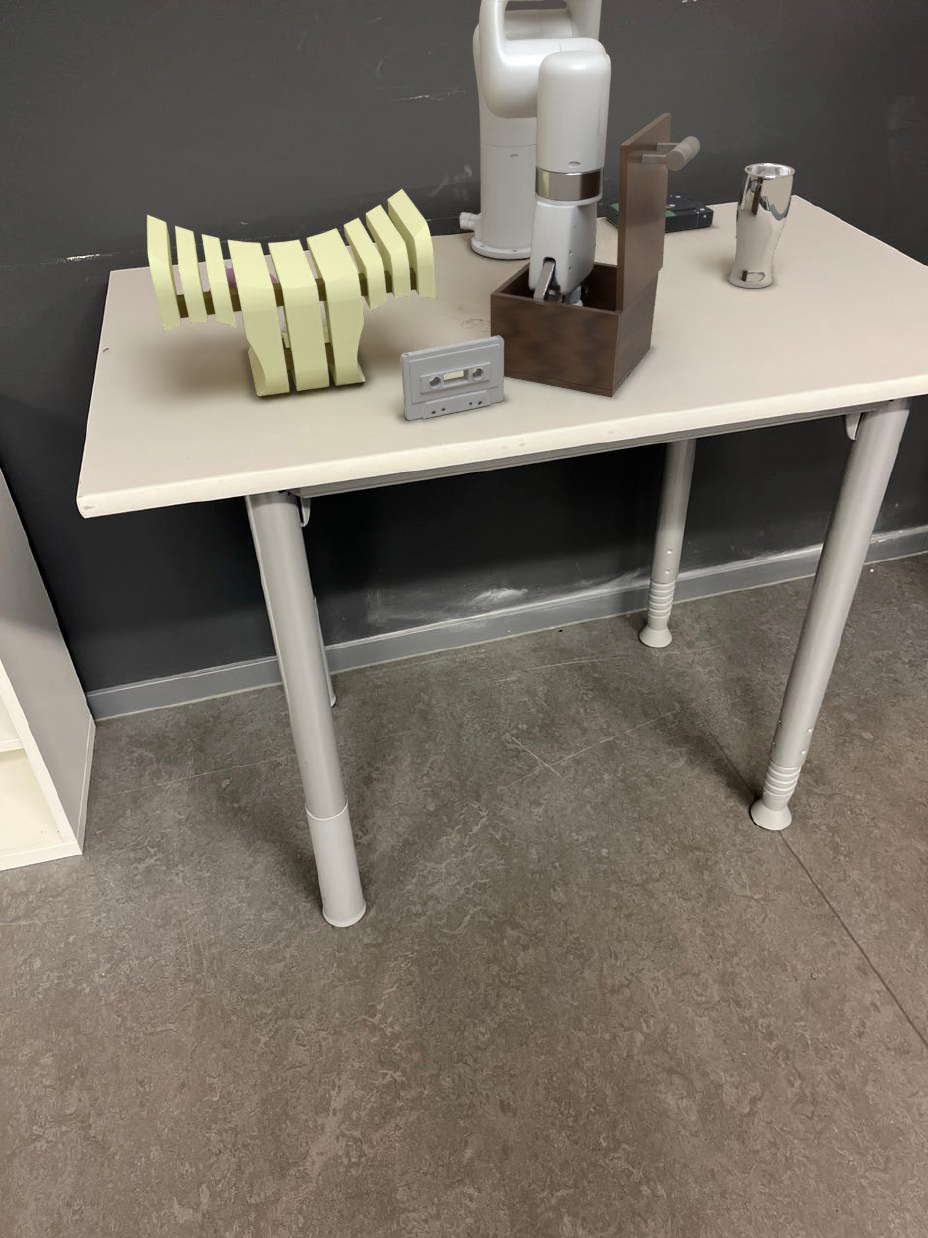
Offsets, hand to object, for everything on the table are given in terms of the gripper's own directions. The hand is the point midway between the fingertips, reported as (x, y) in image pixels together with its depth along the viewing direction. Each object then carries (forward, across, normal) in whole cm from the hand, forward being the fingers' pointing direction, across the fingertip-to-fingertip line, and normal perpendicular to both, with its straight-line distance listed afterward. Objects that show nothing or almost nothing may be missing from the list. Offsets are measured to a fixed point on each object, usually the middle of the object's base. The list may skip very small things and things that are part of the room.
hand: (561, 335), depth 114 cm
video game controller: (+3, +3, -46) cm, 47 cm away
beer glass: (+3, -35, +16) cm, 38 cm away
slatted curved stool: (+3, +16, -28) cm, 32 cm away
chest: (+3, 0, +2) cm, 3 cm away
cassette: (+3, +17, -6) cm, 19 cm away
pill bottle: (+2, 0, 0) cm, 2 cm away
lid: (-16, 0, +8) cm, 18 cm away
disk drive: (+3, -55, -4) cm, 55 cm away
